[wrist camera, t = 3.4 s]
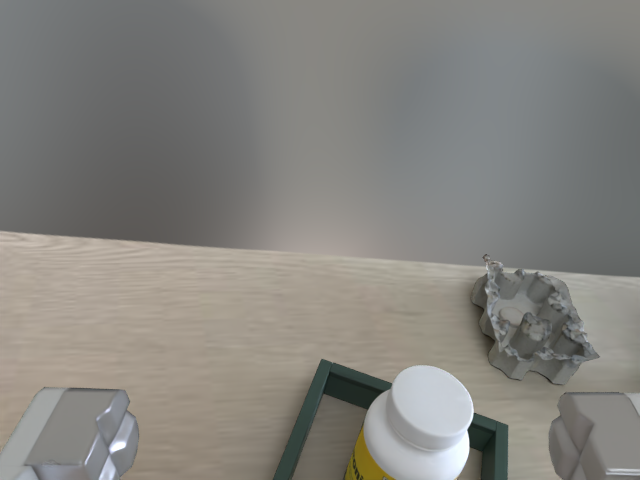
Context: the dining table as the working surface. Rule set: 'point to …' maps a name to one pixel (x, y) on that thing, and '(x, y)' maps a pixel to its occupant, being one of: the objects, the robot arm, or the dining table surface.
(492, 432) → the square frame
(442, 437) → the supplement bottle
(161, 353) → the dining table surface
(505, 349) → the egg carton
